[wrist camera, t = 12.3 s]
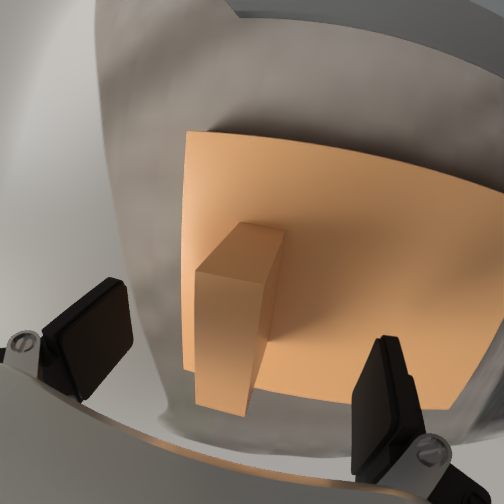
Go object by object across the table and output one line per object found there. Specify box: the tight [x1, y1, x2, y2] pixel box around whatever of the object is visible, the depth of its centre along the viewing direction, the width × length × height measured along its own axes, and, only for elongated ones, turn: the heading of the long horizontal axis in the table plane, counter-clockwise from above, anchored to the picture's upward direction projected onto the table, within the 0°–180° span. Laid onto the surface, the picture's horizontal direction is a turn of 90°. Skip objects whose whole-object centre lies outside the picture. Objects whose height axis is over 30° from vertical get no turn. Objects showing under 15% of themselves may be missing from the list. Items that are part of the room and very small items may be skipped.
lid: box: [181, 131, 504, 417], centre depth 12 cm, size 17×13×7 cm
